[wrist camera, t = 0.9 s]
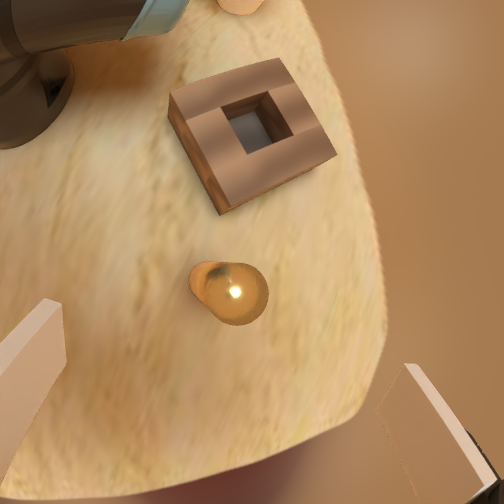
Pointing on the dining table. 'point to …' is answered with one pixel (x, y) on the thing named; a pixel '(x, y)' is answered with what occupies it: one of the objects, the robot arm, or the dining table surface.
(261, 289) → the brass peg
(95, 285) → the dining table surface
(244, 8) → the foam cup
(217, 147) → the walnut socket block
